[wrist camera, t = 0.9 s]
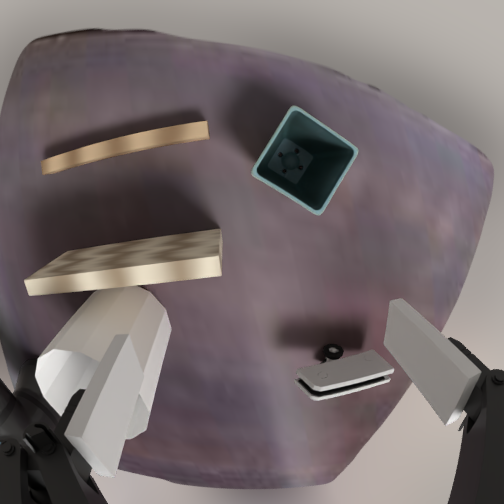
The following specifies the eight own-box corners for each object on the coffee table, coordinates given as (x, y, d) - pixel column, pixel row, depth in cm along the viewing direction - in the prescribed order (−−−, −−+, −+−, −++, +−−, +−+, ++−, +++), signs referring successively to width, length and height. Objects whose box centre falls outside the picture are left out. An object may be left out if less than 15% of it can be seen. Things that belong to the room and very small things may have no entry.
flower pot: (243, 172, 37) (248, 174, 28) (277, 116, 35) (293, 102, 26) (299, 205, 39) (320, 217, 30) (332, 152, 37) (360, 149, 28)
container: (189, 333, 43) (175, 420, 26) (130, 370, 45) (103, 448, 27) (126, 262, 39) (71, 326, 22) (72, 311, 40) (19, 377, 23)
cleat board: (70, 263, 38) (29, 295, 26) (51, 160, 33) (1, 164, 22) (222, 242, 39) (221, 275, 28) (208, 124, 34) (200, 105, 23)
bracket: (361, 336, 48) (287, 352, 43) (395, 366, 39) (315, 392, 34) (356, 354, 49) (284, 371, 44) (388, 384, 40) (310, 411, 36)
